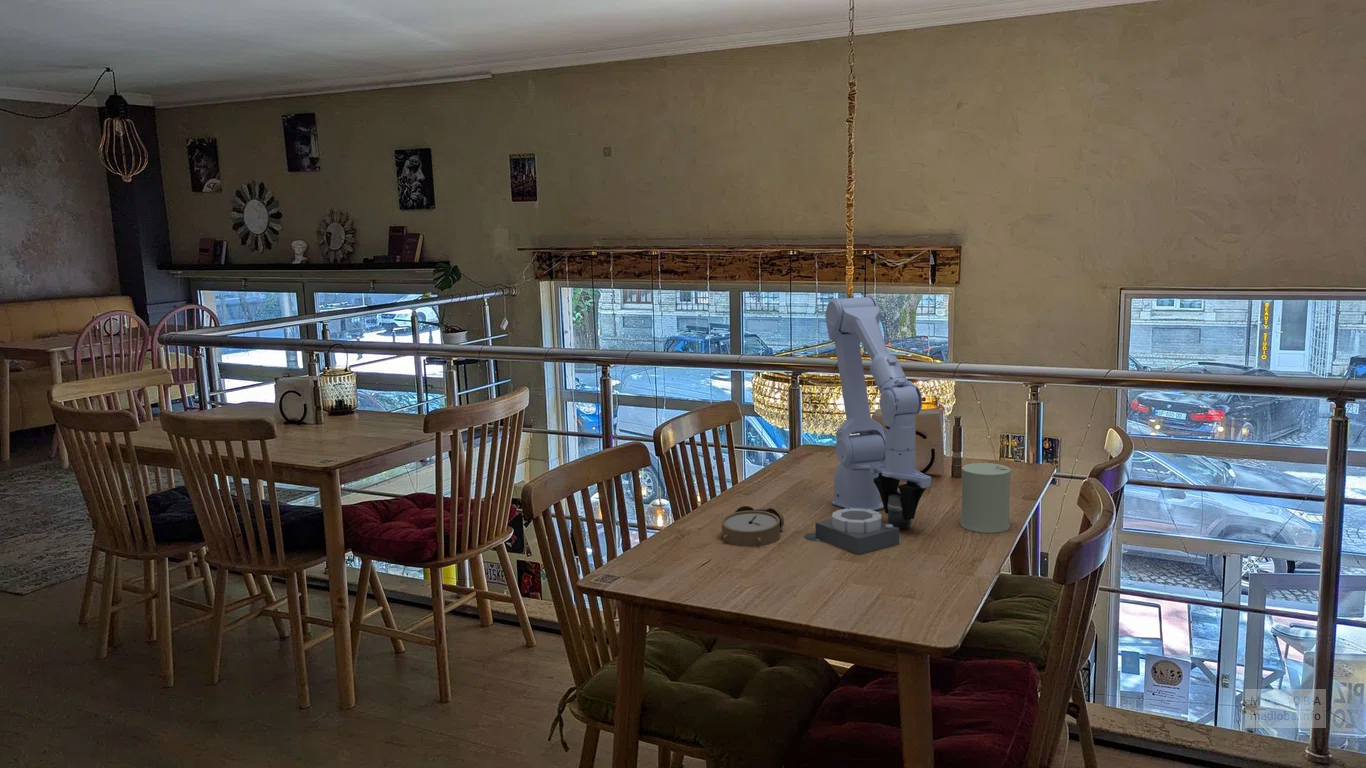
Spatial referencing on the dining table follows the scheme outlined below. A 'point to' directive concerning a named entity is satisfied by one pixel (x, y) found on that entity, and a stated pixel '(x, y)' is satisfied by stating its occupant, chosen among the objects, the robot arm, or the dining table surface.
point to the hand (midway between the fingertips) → (899, 515)
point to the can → (985, 497)
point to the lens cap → (811, 537)
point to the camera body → (857, 531)
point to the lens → (896, 510)
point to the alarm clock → (752, 526)
